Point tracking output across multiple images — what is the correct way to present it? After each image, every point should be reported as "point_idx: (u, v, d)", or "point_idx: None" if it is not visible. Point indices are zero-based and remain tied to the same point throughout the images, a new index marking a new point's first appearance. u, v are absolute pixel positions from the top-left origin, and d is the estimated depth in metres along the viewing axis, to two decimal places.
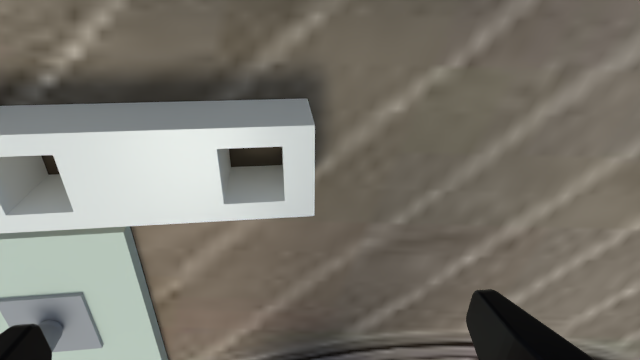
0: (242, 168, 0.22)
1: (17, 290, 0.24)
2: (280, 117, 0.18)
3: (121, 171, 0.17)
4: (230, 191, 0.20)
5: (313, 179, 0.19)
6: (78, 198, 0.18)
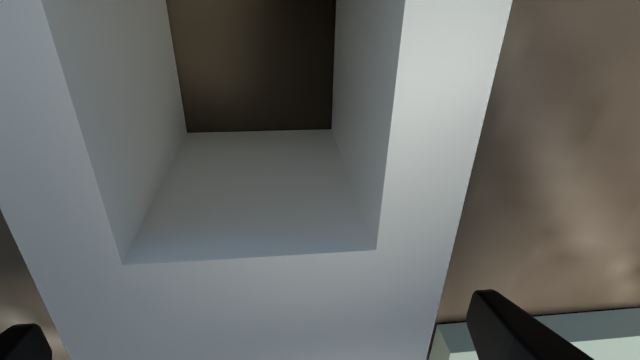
0: (333, 102, 0.08)
1: None
2: None
3: None
4: (358, 186, 0.06)
5: None
6: None
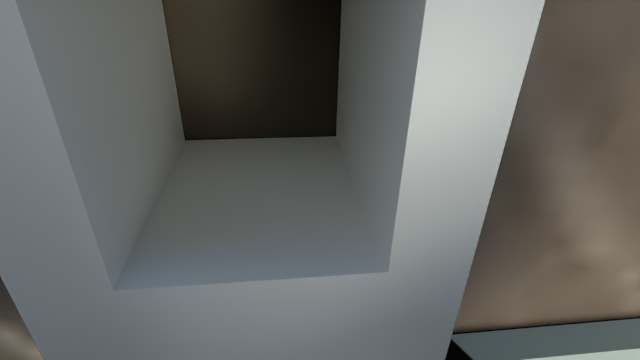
0: (338, 109, 0.07)
1: None
2: None
3: None
4: (366, 200, 0.05)
5: None
6: None
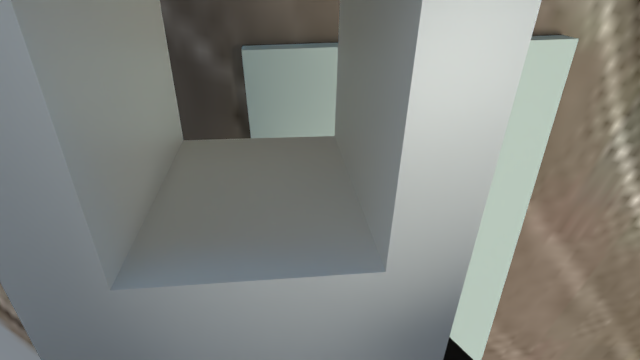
0: (337, 108, 0.07)
1: None
2: None
3: None
4: (364, 199, 0.05)
5: None
6: None
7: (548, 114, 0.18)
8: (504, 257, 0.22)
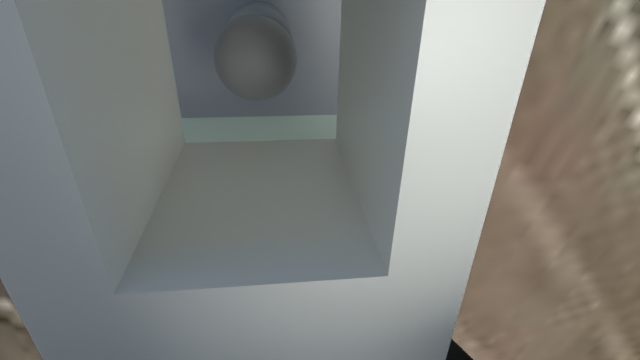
0: (338, 111, 0.07)
1: None
2: None
3: None
4: (366, 203, 0.05)
5: None
6: None
7: None
8: None
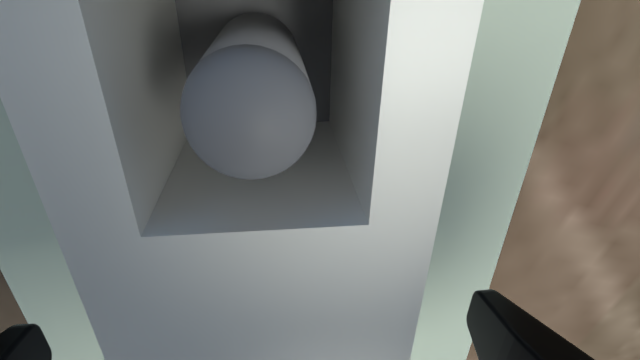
0: (331, 95, 0.08)
1: None
2: None
3: None
4: (353, 170, 0.06)
5: None
6: None
7: None
8: (486, 248, 0.12)
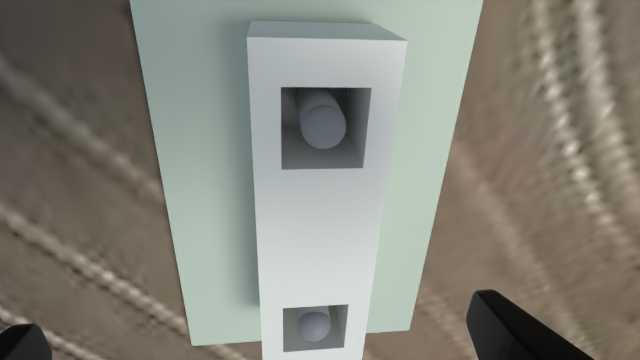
0: (346, 116, 0.17)
1: (243, 118, 0.17)
2: None
3: (304, 262, 0.16)
4: (357, 149, 0.15)
5: (339, 41, 0.12)
6: (333, 298, 0.17)
7: (467, 32, 0.16)
8: (429, 201, 0.21)
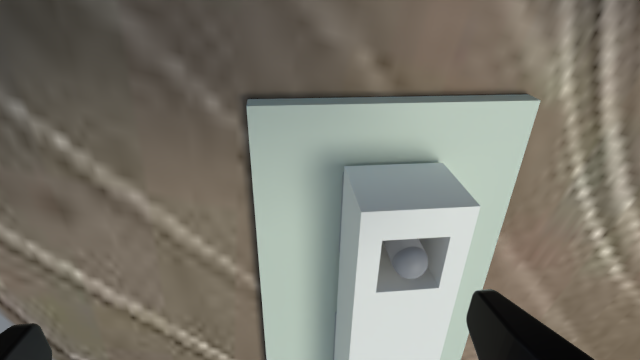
0: None
1: (329, 231, 0.21)
2: (353, 226, 0.17)
3: (386, 352, 0.20)
4: (430, 266, 0.19)
5: (429, 210, 0.16)
6: None
7: (515, 162, 0.20)
8: (477, 282, 0.24)
